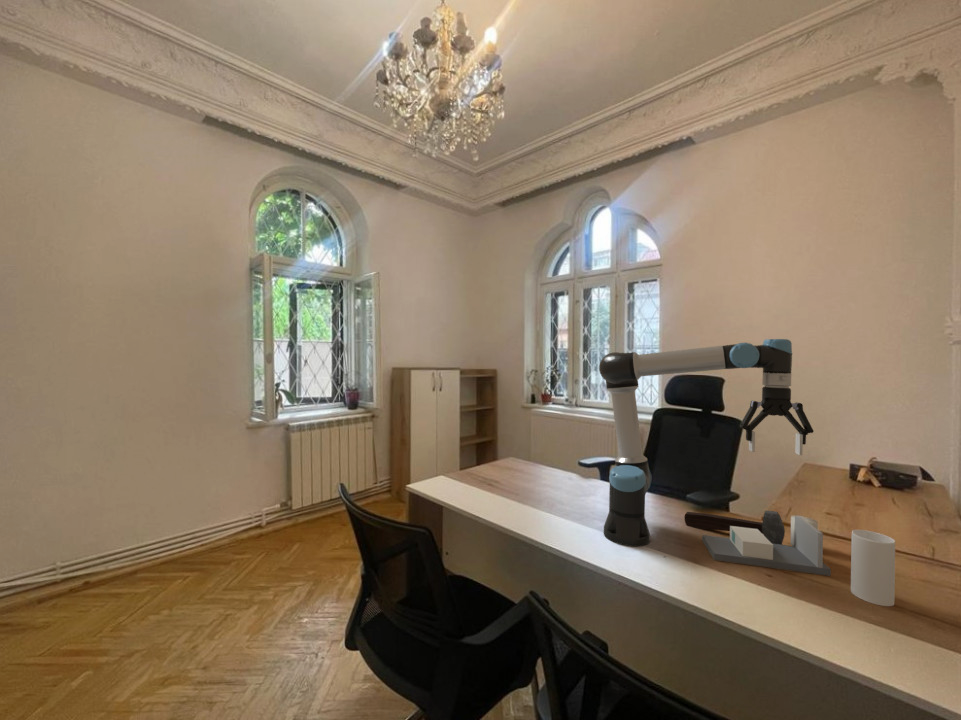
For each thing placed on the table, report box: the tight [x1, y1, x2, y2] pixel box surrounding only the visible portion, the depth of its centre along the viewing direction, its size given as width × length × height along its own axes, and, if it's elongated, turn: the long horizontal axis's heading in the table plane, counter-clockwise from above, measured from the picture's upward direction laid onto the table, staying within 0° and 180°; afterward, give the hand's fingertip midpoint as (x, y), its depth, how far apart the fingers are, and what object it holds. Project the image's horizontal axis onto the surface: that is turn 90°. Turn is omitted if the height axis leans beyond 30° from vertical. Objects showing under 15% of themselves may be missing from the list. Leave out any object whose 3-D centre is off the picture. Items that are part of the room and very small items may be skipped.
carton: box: [729, 526, 773, 560], centre depth 127 cm, size 8×12×4 cm
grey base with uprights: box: [701, 514, 832, 577], centre depth 126 cm, size 30×14×12 cm, turn 74°
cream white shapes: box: [790, 515, 819, 546], centre depth 134 cm, size 7×7×9 cm
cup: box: [850, 529, 896, 607], centre depth 105 cm, size 8×8×16 cm
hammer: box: [684, 510, 786, 545], centre depth 142 cm, size 5×11×30 cm
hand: (774, 452), depth 129 cm, fingers open, 12 cm apart
